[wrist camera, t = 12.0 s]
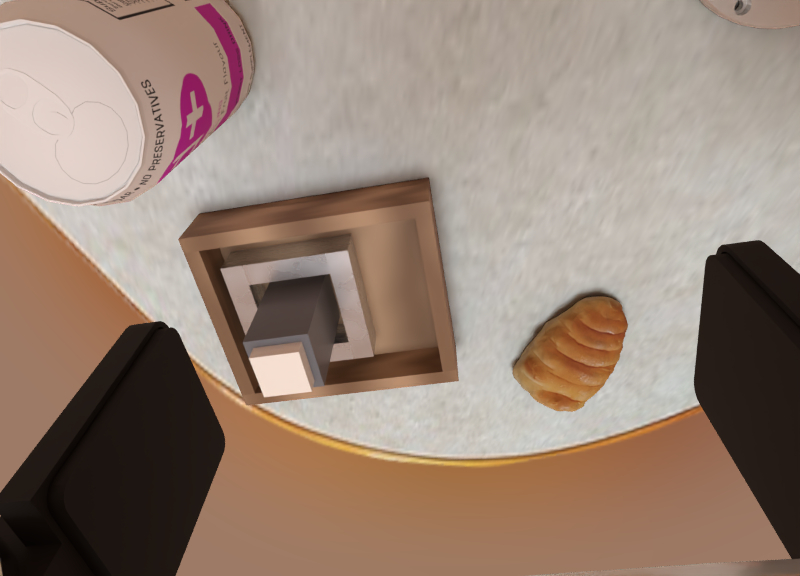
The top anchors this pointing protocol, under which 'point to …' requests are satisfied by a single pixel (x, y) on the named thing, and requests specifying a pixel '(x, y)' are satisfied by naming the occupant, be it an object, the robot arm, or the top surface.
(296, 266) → the socket
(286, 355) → the plug
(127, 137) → the supplement can
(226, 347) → the walnut box
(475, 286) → the top surface
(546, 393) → the pastry
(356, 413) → the top surface
